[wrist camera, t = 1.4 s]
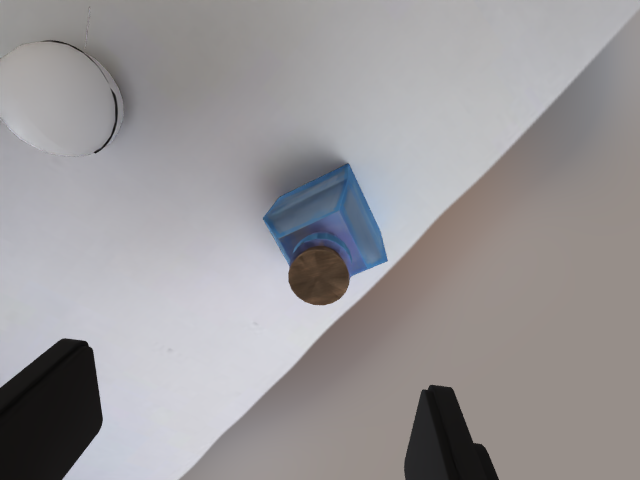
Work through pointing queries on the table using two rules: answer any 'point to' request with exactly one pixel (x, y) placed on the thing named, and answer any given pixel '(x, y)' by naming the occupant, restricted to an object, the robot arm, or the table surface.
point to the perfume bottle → (326, 235)
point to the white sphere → (59, 98)
